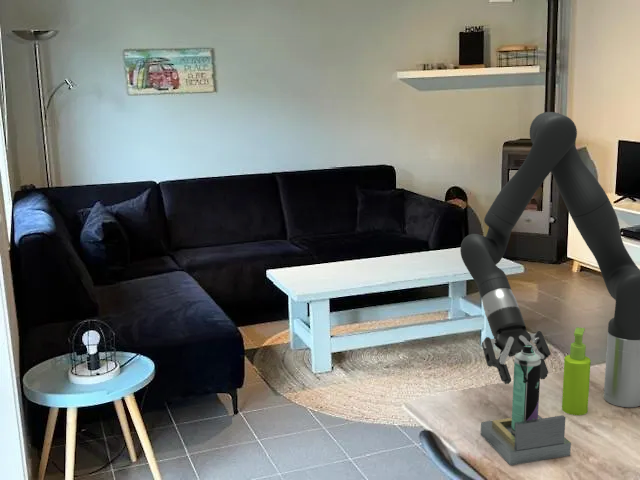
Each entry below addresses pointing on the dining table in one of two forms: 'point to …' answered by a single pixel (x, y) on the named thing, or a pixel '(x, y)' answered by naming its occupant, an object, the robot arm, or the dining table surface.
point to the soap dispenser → (576, 377)
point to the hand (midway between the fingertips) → (526, 380)
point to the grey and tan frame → (527, 439)
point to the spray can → (525, 386)
